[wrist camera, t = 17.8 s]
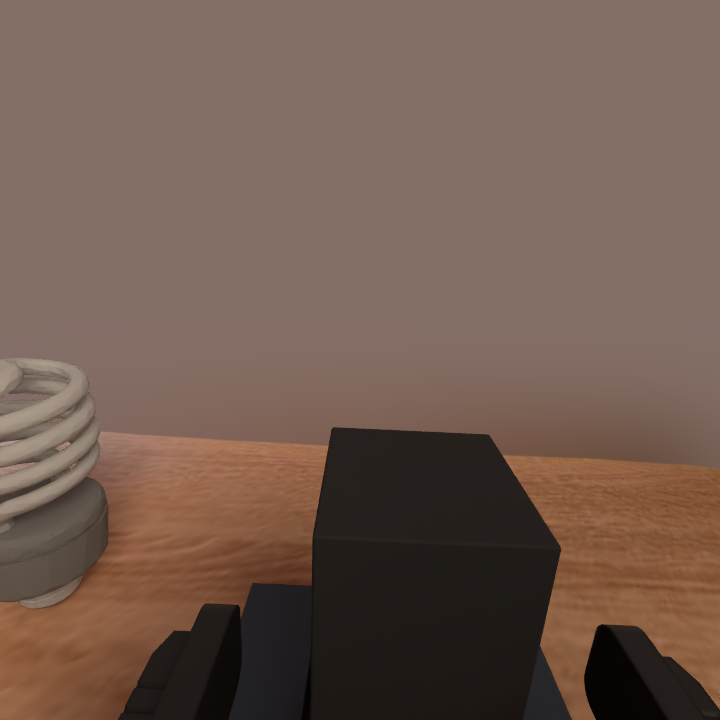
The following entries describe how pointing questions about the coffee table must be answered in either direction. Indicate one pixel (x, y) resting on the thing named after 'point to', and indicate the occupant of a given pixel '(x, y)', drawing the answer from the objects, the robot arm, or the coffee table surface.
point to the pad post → (425, 580)
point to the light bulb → (48, 484)
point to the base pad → (293, 661)
